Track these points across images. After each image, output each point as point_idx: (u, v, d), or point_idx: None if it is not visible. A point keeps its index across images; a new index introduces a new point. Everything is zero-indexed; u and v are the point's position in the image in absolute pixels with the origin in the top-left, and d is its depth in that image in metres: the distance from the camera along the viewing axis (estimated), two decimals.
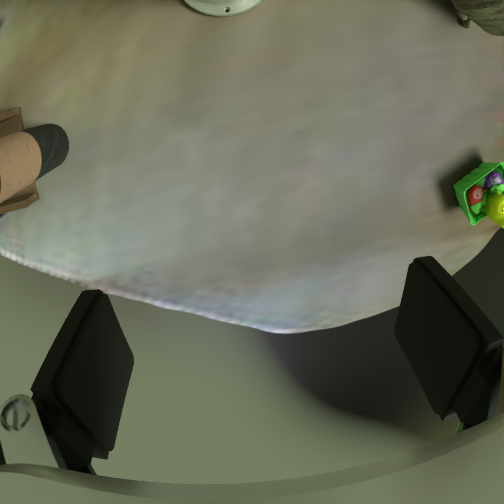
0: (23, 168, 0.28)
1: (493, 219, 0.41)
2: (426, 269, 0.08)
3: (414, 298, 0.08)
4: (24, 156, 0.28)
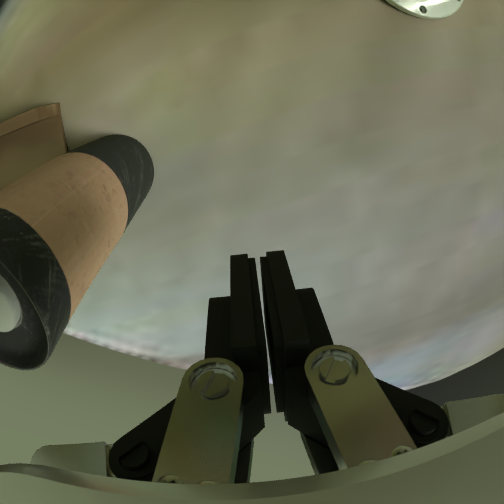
0: (104, 242, 0.16)
1: None
2: (271, 263, 0.09)
3: (263, 292, 0.09)
4: (104, 214, 0.16)
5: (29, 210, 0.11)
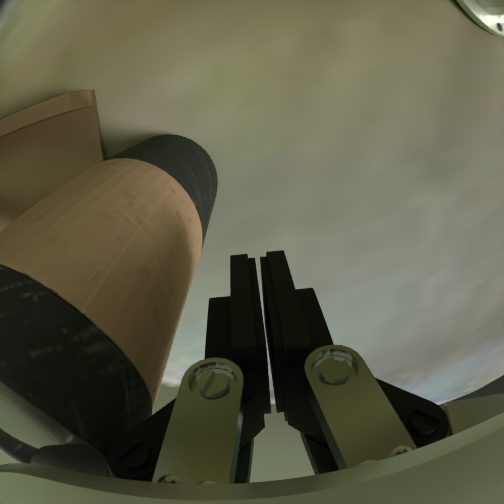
0: (183, 300, 0.11)
1: None
2: (272, 263, 0.09)
3: (263, 292, 0.09)
4: (183, 259, 0.11)
5: (71, 274, 0.06)
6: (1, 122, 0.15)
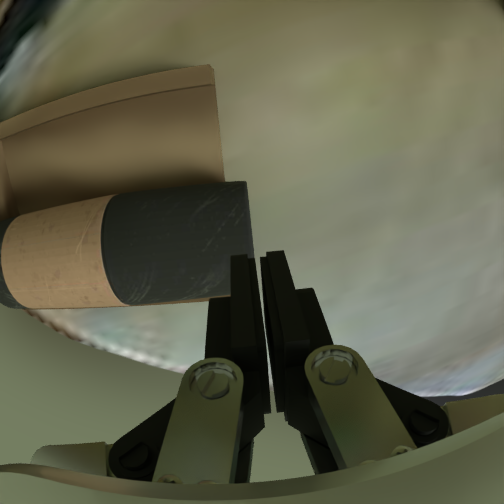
0: (79, 307, 0.20)
1: None
2: None
3: (263, 292, 0.09)
4: (77, 305, 0.19)
5: (11, 283, 0.17)
6: (104, 88, 0.15)
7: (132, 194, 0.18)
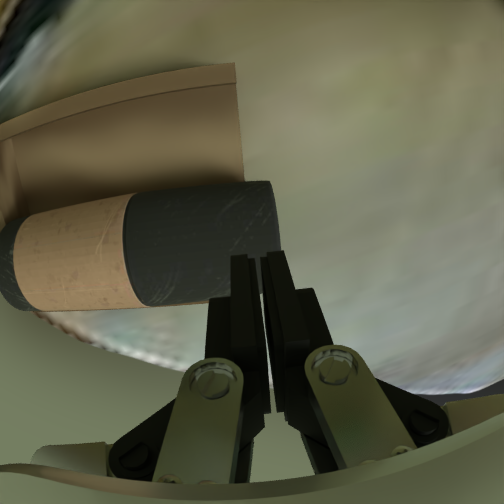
0: (95, 309, 0.20)
1: None
2: (272, 263, 0.09)
3: (263, 292, 0.09)
4: (94, 307, 0.19)
5: (24, 285, 0.17)
6: (125, 84, 0.15)
7: (153, 193, 0.18)
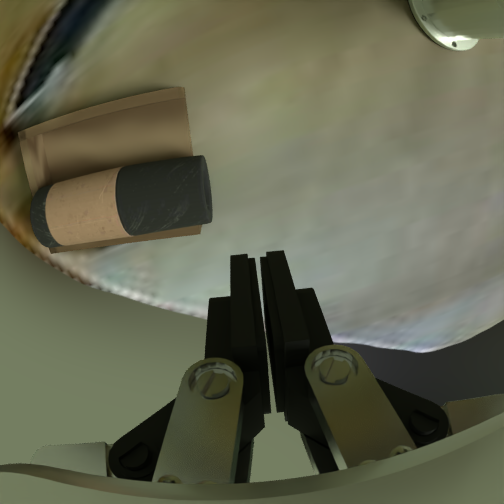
0: (96, 240, 0.32)
1: None
2: (271, 263, 0.09)
3: (263, 292, 0.09)
4: (96, 236, 0.30)
5: (52, 223, 0.28)
6: (117, 101, 0.27)
7: (134, 165, 0.30)
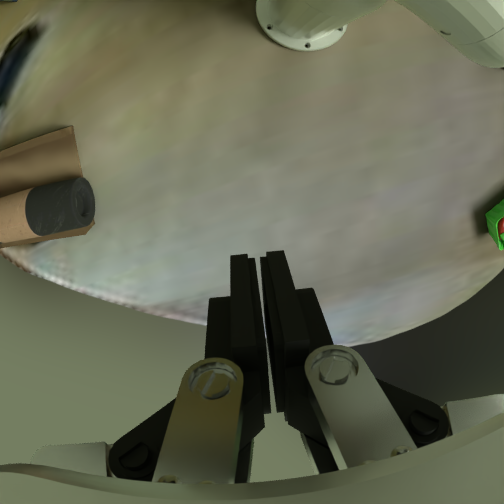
0: (20, 239, 0.39)
1: None
2: (272, 263, 0.09)
3: (263, 292, 0.09)
4: (18, 236, 0.38)
5: None
6: (26, 142, 0.34)
7: (39, 186, 0.37)
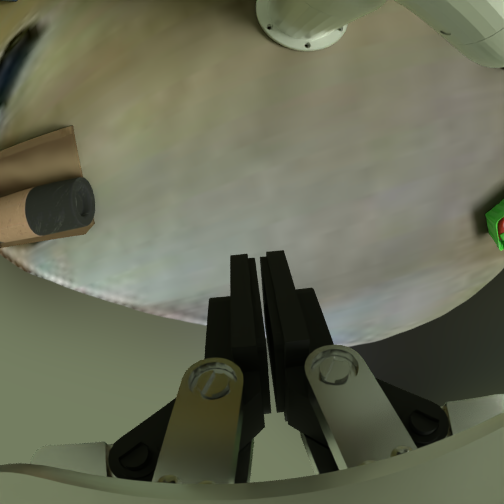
0: (20, 239, 0.39)
1: None
2: (271, 263, 0.09)
3: (263, 292, 0.09)
4: (18, 236, 0.38)
5: None
6: (26, 142, 0.34)
7: (39, 186, 0.37)
